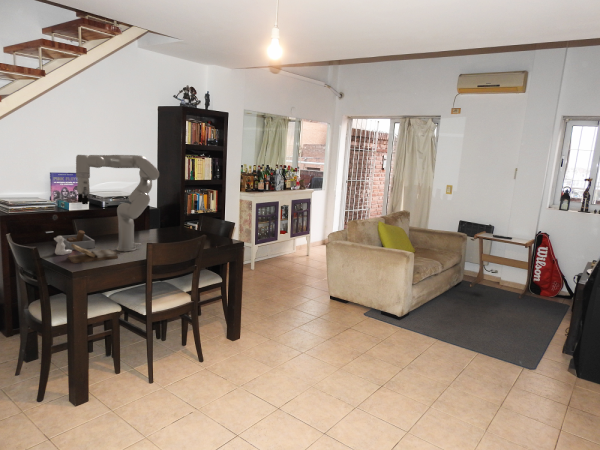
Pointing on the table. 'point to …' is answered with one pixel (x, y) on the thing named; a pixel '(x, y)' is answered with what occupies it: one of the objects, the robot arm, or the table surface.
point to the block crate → (85, 243)
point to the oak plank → (83, 250)
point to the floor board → (98, 256)
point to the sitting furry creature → (61, 246)
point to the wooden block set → (79, 237)
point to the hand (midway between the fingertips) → (82, 203)
